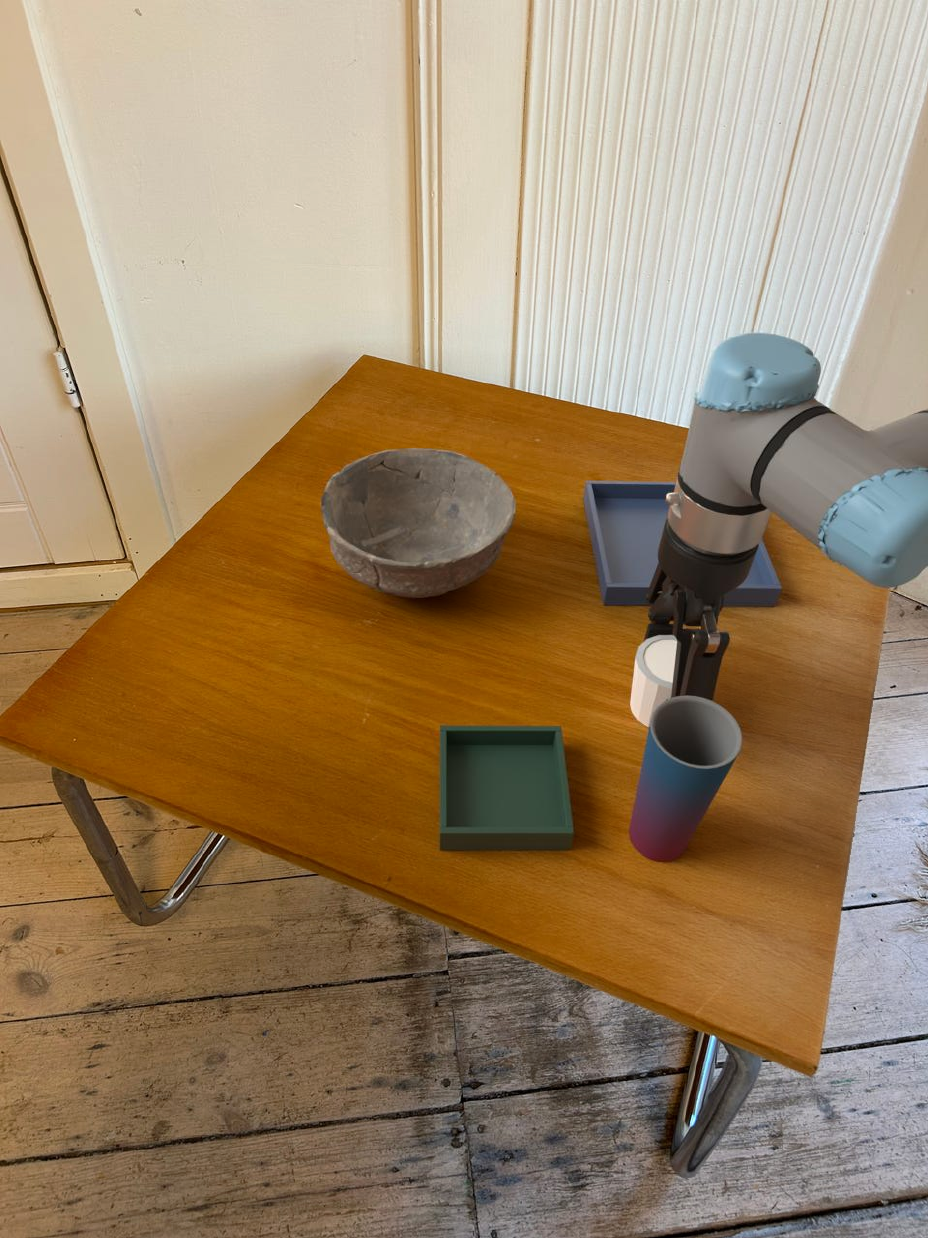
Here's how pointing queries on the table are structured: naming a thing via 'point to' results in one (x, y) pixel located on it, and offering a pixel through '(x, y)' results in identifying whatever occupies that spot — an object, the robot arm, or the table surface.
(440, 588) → the bowl
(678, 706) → the cup
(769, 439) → the robot arm
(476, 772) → the near tray
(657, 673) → the white faceted candle
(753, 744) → the table surface
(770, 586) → the far tray
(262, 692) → the table surface
